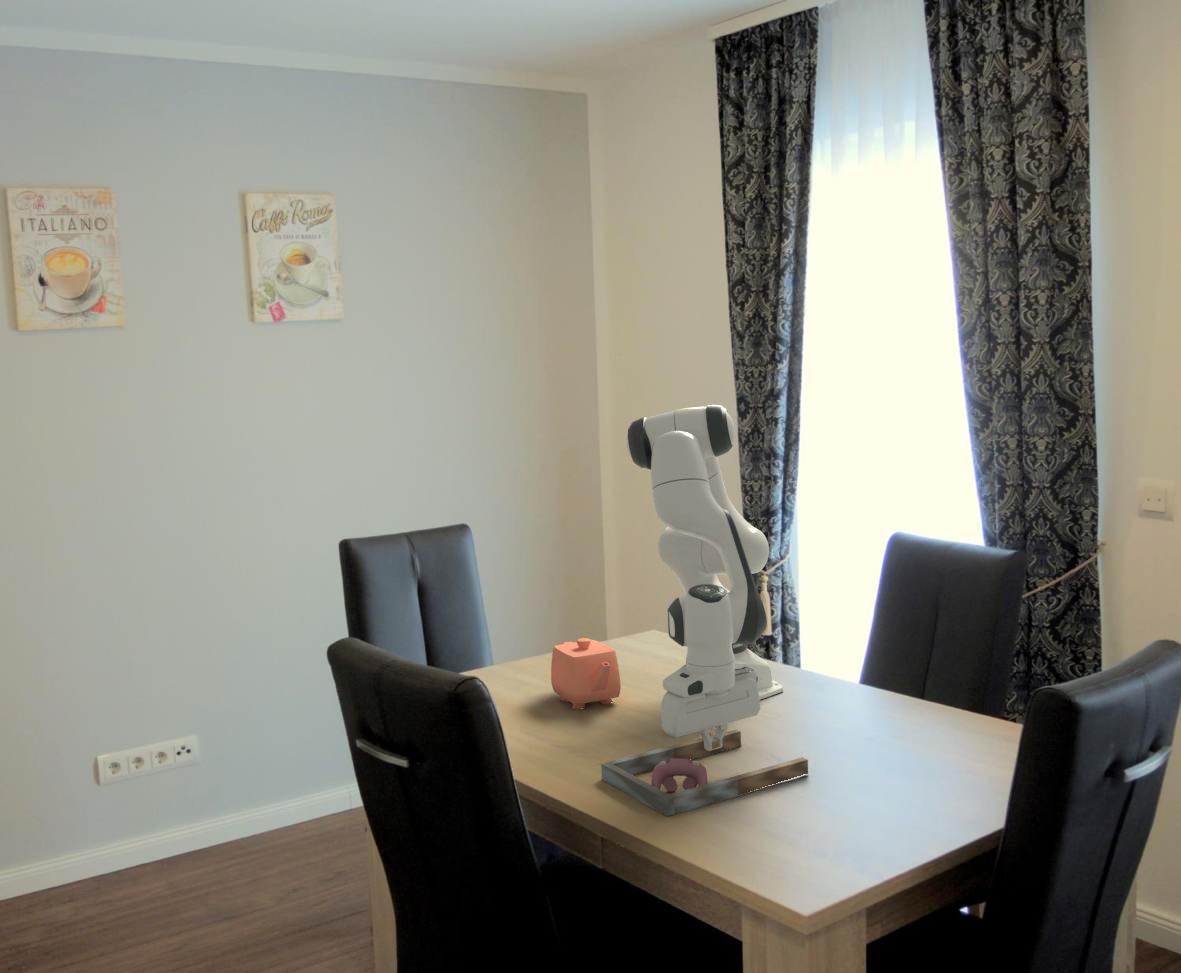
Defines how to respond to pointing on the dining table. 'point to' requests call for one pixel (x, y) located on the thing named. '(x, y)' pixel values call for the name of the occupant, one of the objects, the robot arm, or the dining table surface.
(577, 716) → the dining table surface
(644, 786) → the u-shaped rail frame
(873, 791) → the dining table surface
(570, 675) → the teapot
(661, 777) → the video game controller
